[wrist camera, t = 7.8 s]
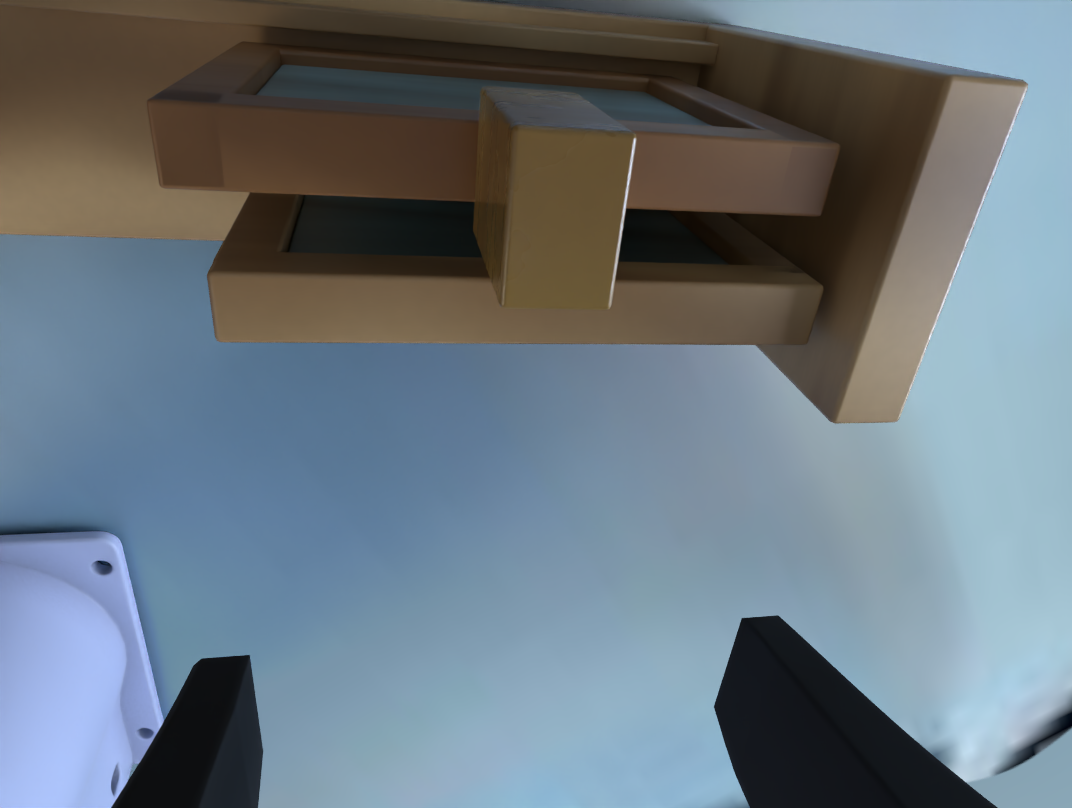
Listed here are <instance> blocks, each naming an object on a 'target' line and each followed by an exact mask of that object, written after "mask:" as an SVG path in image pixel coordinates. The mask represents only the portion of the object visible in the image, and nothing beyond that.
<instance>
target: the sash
mask: <svg viewBox="0 0 1072 808" xmlns="http://www.w3.org/2000/svg"><path fill="white" fill-rule="evenodd" d="M146 104H147V110H148V117H149V123H150V130H151V136H152V143H153V149H154V155H155V162H156V168H157V175H158V181H159V185H160V186H161V187H162V188H165V189H183V190H207V191H230V192H253V193H276V194H299V195H323V196H346V197H369V198H392V199H416V200H439V201H462V202H475V204H474V223H473V232H474V234H475V237H476V240H477V243H478V246H479V248H480V251H481V254H482V257H483V260H484V263H485V265H486V268H487V271H488V274H489V277H490V280H491V282H492V285H493V288H494V291H495V294H496V297H497V299H498V302H499V305H500V307H502V308H505V309H570V310H608V309H610V307H611V305H612V299H613V292H614V286H615V279H616V273H617V266H618V260H619V253H620V246H621V240H622V233H623V227H624V220H625V214H626V209H648V210H671V211H694V212H717V213H741V214H764V215H787V216H810V217H818V216H821V214H822V212H823V208H824V205H825V201H826V198H827V194H828V191H829V187H830V183H831V180H832V176H833V173H834V169H835V166H836V162H837V159H838V155H839V152H840V144H838V143H836V142H834V141H831V140H829V139H826V138H824V137H821V136H819V135H816V134H814V133H811V132H808V131H806V130H803V129H801V128H798V127H796V126H793V125H791V124H788V123H786V122H783V121H781V120H778V119H776V118H773V117H771V116H768V115H766V114H763V113H761V112H759V111H756V110H754V109H751V108H749V107H746V106H744V105H741V104H739V103H736V102H734V101H731V100H729V99H726V98H724V97H721V96H719V95H716V94H714V93H711V92H709V91H706V90H704V89H701V88H699V87H697V86H694V85H692V84H689V83H687V82H684V81H682V80H679V79H677V78H674V77H672V76H662V75H650V74H636V73H624V72H612V71H600V70H587V69H575V68H563V67H550V66H538V65H526V64H513V63H501V62H489V61H477V60H464V59H452V58H440V57H427V56H415V55H403V54H391V53H378V52H366V51H354V50H341V49H329V48H317V47H305V46H292V45H281V44H270V43H257V42H245V41H242V42H240V43H238V44H236V45H235V46H233V47H232V48H230V49H228V50H227V51H225V52H224V53H222V54H220V55H219V56H217V57H215V58H214V59H212V60H211V61H209V62H207V63H206V64H204V65H203V66H201V67H199V68H198V69H196V70H195V71H193V72H191V73H190V74H188V75H187V76H185V77H183V78H182V79H180V80H178V81H177V82H175V83H174V84H172V85H170V86H169V87H167V88H166V89H164V90H162V91H160V92H159V93H157V94H156V95H154V96H152V97H151V98H149V99H148V100H147V103H146Z"/></svg>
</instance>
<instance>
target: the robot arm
mask: <svg viewBox="0 0 1072 808" xmlns="http://www.w3.org/2000/svg"><path fill="white" fill-rule="evenodd" d="M99 560H101V561H106V562H108V563H110V564H111V565H102V564H100V563H99V562H97V561H99ZM714 708H715V712H716V715H717V718H718V722H719V725H720V728H721V732H722V735H723V738H724V741H725V745H726V748H727V751H728V754H729V757H730V760H731V763H732V766H733V769H734V772H735V774H736V777H737V779H738V781H739V784H740V786H741V788H742V791H743V793H744V795H745V797H746V800H747V802H748V804H749V806H750V808H997V807H996V806H995V805H993V804H992V803H991V802H990V801H988V800H987V799H986V798H984V797H983V796H982V795H981V794H979V793H978V792H977V791H976V790H974V789H973V788H972V787H970V786H969V785H968V784H967V783H966V782H965V781H963V780H962V779H961V778H960V777H958V776H957V775H956V774H955V773H954V772H952V771H951V770H950V769H949V768H947V767H946V766H945V765H944V764H943V763H941V762H940V761H939V760H938V759H936V758H935V757H934V756H933V755H932V754H931V753H929V752H928V751H927V750H926V749H925V748H923V747H922V746H921V745H920V744H919V743H918V742H916V741H915V740H914V739H913V738H912V737H911V736H910V735H908V734H907V733H906V732H905V731H904V730H903V729H902V728H900V727H899V726H898V725H897V724H896V723H895V722H894V721H892V720H891V719H890V718H889V717H888V716H887V715H886V714H885V713H884V712H882V711H881V710H880V709H879V708H878V707H877V706H876V705H875V704H874V703H872V702H871V701H870V700H869V699H868V698H867V697H866V696H865V695H864V694H863V693H861V692H860V691H859V690H858V689H857V688H856V687H855V686H854V685H853V684H852V683H851V682H850V681H848V680H847V679H846V678H845V677H844V676H843V675H842V674H841V673H840V672H839V671H838V670H837V669H836V668H834V667H833V666H832V665H831V664H830V663H829V662H828V661H827V660H826V659H825V658H824V657H823V656H822V655H821V654H819V653H818V652H817V651H816V650H815V649H814V648H813V647H812V646H811V645H810V644H809V643H808V642H807V641H806V640H804V639H803V638H802V637H801V636H800V635H799V634H798V633H797V632H796V631H795V630H794V629H793V628H791V627H790V626H789V625H788V624H787V623H786V622H785V621H784V620H783V619H781V618H780V617H779V616H766V617H752V618H742V620H741V623H740V626H739V629H738V632H737V635H736V639H735V642H734V645H733V648H732V651H731V654H730V658H729V661H728V664H727V667H726V670H725V673H724V677H723V680H722V683H721V686H720V689H719V692H718V696H717V699H716V702H715V705H714ZM262 757H263V748H262V741H261V733H260V726H259V719H258V712H257V705H256V698H255V691H254V683H253V676H252V669H251V662H250V655H244V656H231V657H217V658H204V659H201V660H199V661H198V662H197V663H196V664H195V665H194V666H193V668H192V670H191V672H190V674H189V676H188V678H187V680H186V682H185V684H184V686H183V687H182V689H181V691H180V693H179V695H178V697H177V699H176V701H175V702H174V704H173V706H172V708H171V710H170V711H169V713H168V715H167V717H166V719H165V720H163V716H162V712H161V707H160V703H159V699H158V695H157V690H156V686H155V682H154V678H153V674H152V669H151V665H150V661H149V657H148V652H147V648H146V644H145V640H144V635H143V631H142V627H141V623H140V618H139V614H138V610H137V606H136V601H135V597H134V593H133V589H132V585H131V580H130V576H129V572H128V568H127V563H126V559H125V555H124V551H123V546H122V543H121V541H120V540H119V538H117V537H116V536H115V535H113V534H111V533H108V532H103V531H88V532H64V533H40V534H16V535H0V808H258V800H259V790H260V779H261V768H262ZM138 763H139V764H138ZM132 764H138V766H137V768H136V769H135V771H134V772H133V774H132V775H131V777H130V779H129V780H128V778H129V774H130V771H131V768H132ZM127 781H128V782H127Z"/></svg>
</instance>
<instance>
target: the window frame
mask: <svg viewBox="0 0 1072 808" xmlns="http://www.w3.org/2000/svg"><path fill="white" fill-rule="evenodd" d="M242 41H245V42H257V43H270V44H281V45H292V46H305V47H317V48H329V49H341V50H354V51H366V52H378V53H391V54H403V55H415V56H427V57H440V58H452V59H464V60H477V61H489V62H501V63H513V64H526V65H538V66H550V67H563V68H575V69H587V70H600V71H612V72H624V73H636V74H650V75H662V76H672V77H674V78H677V79H679V80H682V81H684V82H687V83H689V84H692V85H694V86H697V87H699V88H701V89H704V90H706V91H709V92H711V93H714V94H716V95H719V96H721V97H724V98H726V99H729V100H731V101H734V102H736V103H739V104H741V105H744V106H746V107H749V108H751V109H754V110H756V111H759V112H761V113H763V114H766V115H768V116H771V117H773V118H776V119H778V120H781V121H783V122H786V123H788V124H791V125H793V126H796V127H798V128H801V129H803V130H806V131H808V132H811V133H814V134H816V135H819V136H821V137H824V138H826V139H829V140H831V141H834V142H836V143H838V144H840V152H839V155H838V159H837V162H836V166H835V169H834V173H833V176H832V180H831V183H830V187H829V191H828V194H827V198H826V201H825V205H824V208H823V212H822V214H821V216H818V217H810V216H787V215H764V214H741V213H717V212H694V211H671V210H648V209H626V214H625V220H624V227H623V233H622V240H621V246H620V253H619V260H618V266H617V273H616V279H615V286H614V292H613V299H612V305H611V307H610V309H608V310H570V309H505V308H502V307H500V305H499V302H498V299H497V297H496V294H495V291H494V288H493V285H492V282H491V280H490V277H489V274H488V271H487V268H486V265H485V263H484V260H483V257H482V254H481V251H480V248H479V246H478V243H477V240H476V237H475V234H474V232H473V223H474V204H475V202H462V201H439V200H416V199H392V198H369V197H346V196H323V195H299V194H276V193H253V192H230V191H207V190H183V189H165V188H162V187H161V186H160V185H159V181H158V175H157V168H156V162H155V155H154V149H153V143H152V136H151V130H150V123H149V117H148V110H147V104H146V103H147V100H148V99H149V98H151V97H152V96H154V95H156V94H157V93H159V92H160V91H162V90H164V89H166V88H167V87H169V86H170V85H172V84H174V83H175V82H177V81H178V80H180V79H182V78H183V77H185V76H187V75H188V74H190V73H191V72H193V71H195V70H196V69H198V68H199V67H201V66H203V65H204V64H206V63H207V62H209V61H211V60H212V59H214V58H215V57H217V56H219V55H220V54H222V53H224V52H225V51H227V50H228V49H230V48H232V47H233V46H235V45H236V44H238V43H240V42H242ZM1027 89H1028V84H1027V83H1026V82H1025V81H1023V80H1020V79H1015V78H1010V77H1004V76H999V75H994V74H989V73H983V72H978V71H973V70H968V69H962V68H957V67H952V66H946V65H941V64H936V63H931V62H925V61H920V60H915V59H910V58H904V57H899V56H894V55H888V54H883V53H878V52H873V51H867V50H862V49H857V48H852V47H846V46H841V45H836V44H830V43H825V42H820V41H815V40H809V39H804V38H799V37H794V36H788V35H783V34H778V33H772V32H767V31H762V30H757V29H752V28H746V27H741V26H736V25H725V24H715V23H705V22H695V21H684V20H674V19H664V18H654V17H643V16H633V15H623V14H613V13H602V12H592V11H582V10H572V9H561V8H551V7H541V6H531V5H520V4H510V3H500V2H490V1H480V0H0V234H14V235H47V236H80V237H113V238H146V239H178V240H211V241H224V242H223V244H222V245H221V247H220V249H219V251H218V253H217V255H216V257H215V258H214V261H213V264H212V266H211V268H210V269H209V271H208V274H207V280H208V288H209V295H210V303H211V310H212V318H213V325H214V333H215V337H216V339H217V341H219V342H283V343H488V344H693V345H756V346H757V347H758V348H759V349H760V350H761V351H762V352H763V353H764V354H765V355H766V356H767V357H768V358H769V359H770V360H771V361H772V362H773V363H774V365H775V366H776V367H777V368H778V369H779V370H780V371H781V372H782V373H783V374H784V375H785V376H786V377H787V378H788V379H789V380H790V381H791V382H792V383H793V384H794V385H795V386H796V387H797V388H798V389H799V390H800V391H801V392H802V393H803V394H804V395H805V396H806V397H807V398H808V399H809V400H810V401H811V402H812V403H813V404H814V405H815V406H816V407H817V408H818V410H819V411H820V412H821V413H822V414H823V415H824V416H825V417H826V418H827V419H828V420H829V421H830V422H833V423H883V422H896V421H898V420H899V418H900V416H901V413H902V410H903V408H904V405H905V403H906V400H907V398H908V395H909V392H910V390H911V387H912V385H913V382H914V380H915V377H916V374H917V372H918V369H919V367H920V364H921V362H922V359H923V356H924V354H925V351H926V349H927V346H928V344H929V341H930V338H931V336H932V333H933V331H934V328H935V326H936V323H937V320H938V318H939V315H940V313H941V310H942V308H943V305H944V302H945V300H946V297H947V295H948V292H949V290H950V287H951V284H952V282H953V279H954V277H955V274H956V272H957V269H958V266H959V264H960V261H961V259H962V256H963V254H964V251H965V248H966V246H967V243H968V241H969V238H970V236H971V233H972V230H973V228H974V225H975V223H976V220H977V218H978V215H979V212H980V210H981V207H982V205H983V202H984V200H985V197H986V194H987V192H988V189H989V187H990V184H991V182H992V179H993V176H994V174H995V171H996V169H997V166H998V164H999V161H1000V158H1001V156H1002V153H1003V151H1004V148H1005V146H1006V143H1007V140H1008V138H1009V135H1010V133H1011V130H1012V128H1013V125H1014V122H1015V120H1016V117H1017V115H1018V112H1019V110H1020V107H1021V104H1022V102H1023V99H1024V97H1025V94H1026V92H1027Z"/></svg>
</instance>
